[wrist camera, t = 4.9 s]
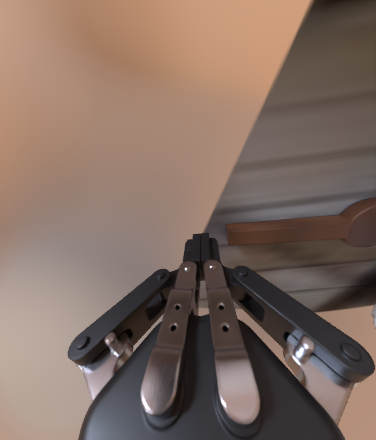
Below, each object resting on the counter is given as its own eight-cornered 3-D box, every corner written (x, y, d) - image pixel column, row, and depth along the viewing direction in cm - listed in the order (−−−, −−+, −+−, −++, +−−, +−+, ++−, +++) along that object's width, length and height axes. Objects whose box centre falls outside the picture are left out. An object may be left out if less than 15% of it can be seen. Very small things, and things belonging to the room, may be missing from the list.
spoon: (226, 247, 16) (228, 256, 15) (225, 211, 14) (228, 218, 13) (377, 238, 14) (394, 247, 13) (404, 194, 12) (426, 201, 11)
